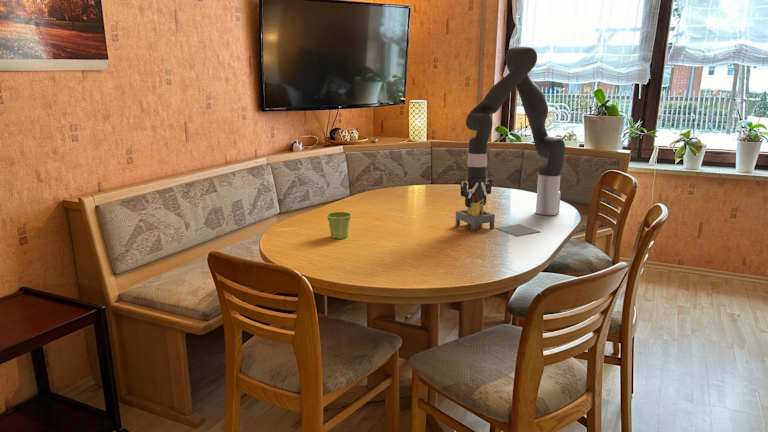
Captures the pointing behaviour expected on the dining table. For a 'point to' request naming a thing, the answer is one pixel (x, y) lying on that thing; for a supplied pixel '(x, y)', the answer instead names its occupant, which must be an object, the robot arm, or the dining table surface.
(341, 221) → the plant pot
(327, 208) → the dining table surface
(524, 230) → the slate mat
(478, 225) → the sauce bottle
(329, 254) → the dining table surface
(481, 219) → the grey square frame stand
